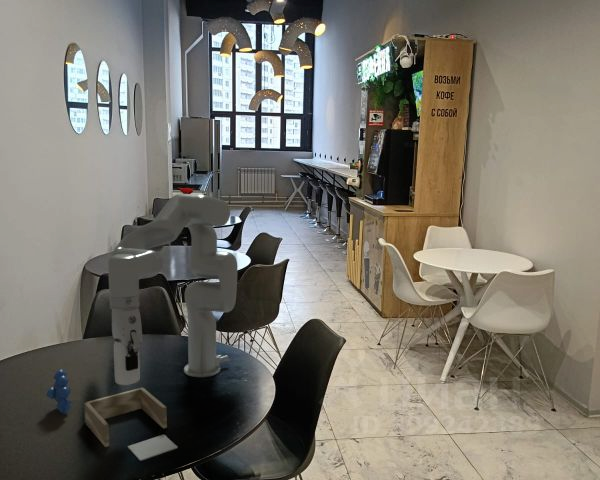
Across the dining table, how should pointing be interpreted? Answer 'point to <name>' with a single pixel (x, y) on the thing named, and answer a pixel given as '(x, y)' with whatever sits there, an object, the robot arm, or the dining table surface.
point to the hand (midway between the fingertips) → (127, 364)
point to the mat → (152, 447)
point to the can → (124, 366)
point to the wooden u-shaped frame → (121, 410)
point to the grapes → (60, 392)
